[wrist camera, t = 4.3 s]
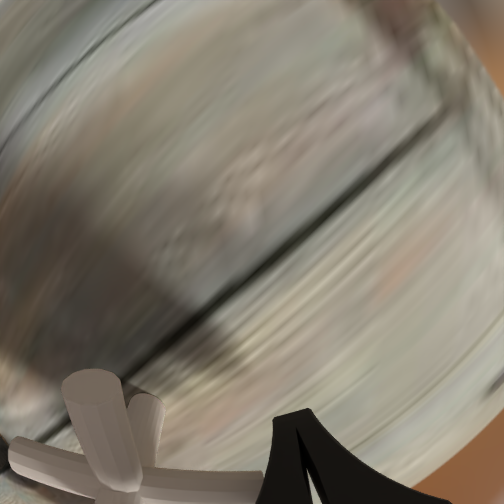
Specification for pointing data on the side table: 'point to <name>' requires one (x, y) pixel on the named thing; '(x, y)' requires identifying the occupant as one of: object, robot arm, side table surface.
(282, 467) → the robot arm
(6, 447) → the duct stub
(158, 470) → the pipe connector
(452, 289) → the side table surface
